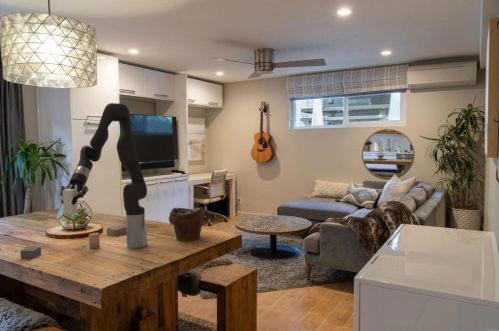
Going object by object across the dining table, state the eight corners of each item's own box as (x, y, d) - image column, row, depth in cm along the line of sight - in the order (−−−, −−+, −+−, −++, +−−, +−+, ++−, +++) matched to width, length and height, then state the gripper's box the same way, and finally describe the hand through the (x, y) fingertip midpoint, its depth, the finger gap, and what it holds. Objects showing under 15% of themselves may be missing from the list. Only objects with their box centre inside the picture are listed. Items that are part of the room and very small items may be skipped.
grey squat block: (41, 254, 172) (40, 246, 172) (33, 259, 166) (32, 250, 166) (29, 254, 173) (28, 246, 172) (20, 258, 167) (20, 250, 166)
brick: (114, 237, 203) (113, 229, 202) (106, 234, 208) (105, 226, 207) (138, 231, 216) (138, 223, 215) (130, 229, 221) (130, 221, 220)
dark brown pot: (165, 236, 202) (165, 205, 200) (198, 232, 211) (198, 202, 210) (174, 245, 186) (173, 211, 185) (209, 240, 195) (209, 208, 194)
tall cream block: (77, 212, 179) (76, 189, 178) (72, 214, 175) (71, 190, 174) (69, 212, 179) (67, 189, 178) (63, 214, 175) (62, 190, 174)
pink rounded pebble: (101, 246, 185) (101, 232, 185) (96, 249, 180) (96, 235, 180) (92, 245, 185) (91, 232, 185) (87, 248, 180) (86, 235, 180)
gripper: (63, 172, 183) (50, 199, 172) (90, 172, 182) (78, 199, 171) (70, 181, 189) (57, 208, 178) (96, 181, 188) (85, 208, 177)
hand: (68, 203), depth 175 cm, fingers closed on tall cream block, 4 cm apart
